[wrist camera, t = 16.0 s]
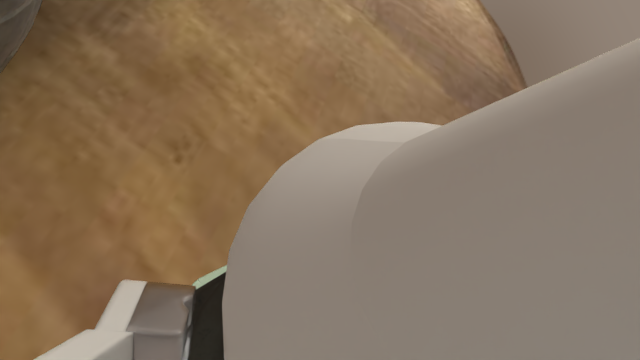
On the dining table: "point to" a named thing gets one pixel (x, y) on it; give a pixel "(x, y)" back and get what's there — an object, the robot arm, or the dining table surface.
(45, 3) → the dining table surface
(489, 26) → the dining table surface
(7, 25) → the bowl
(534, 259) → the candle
